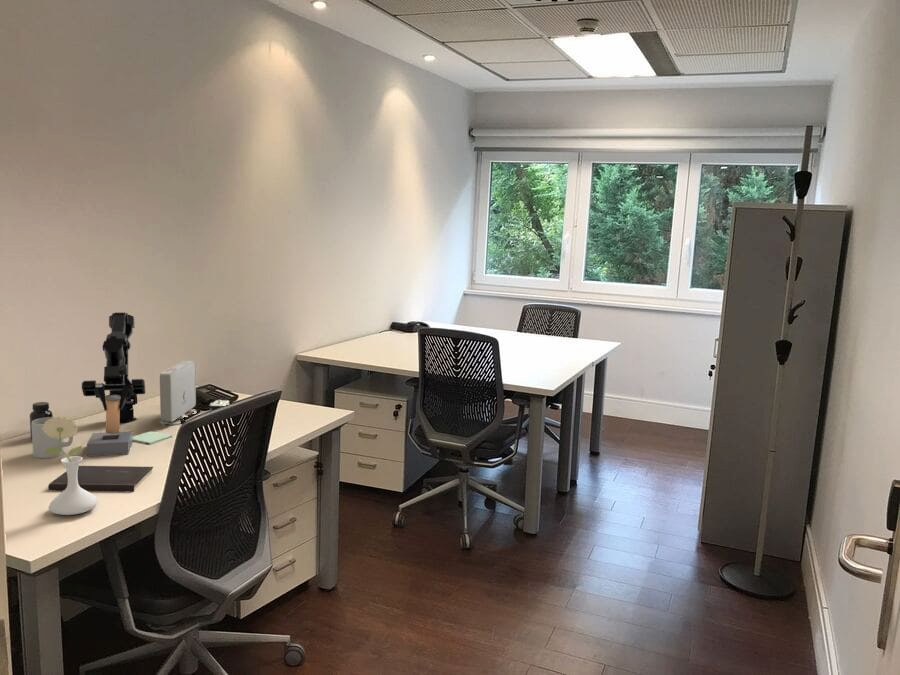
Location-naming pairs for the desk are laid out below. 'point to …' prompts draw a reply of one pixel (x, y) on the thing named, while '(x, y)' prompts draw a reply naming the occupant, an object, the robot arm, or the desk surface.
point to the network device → (177, 392)
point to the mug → (45, 440)
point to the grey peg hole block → (109, 443)
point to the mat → (151, 437)
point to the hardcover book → (105, 478)
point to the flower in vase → (68, 471)
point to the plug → (112, 413)
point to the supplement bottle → (39, 412)
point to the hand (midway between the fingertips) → (112, 409)
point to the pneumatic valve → (218, 404)
